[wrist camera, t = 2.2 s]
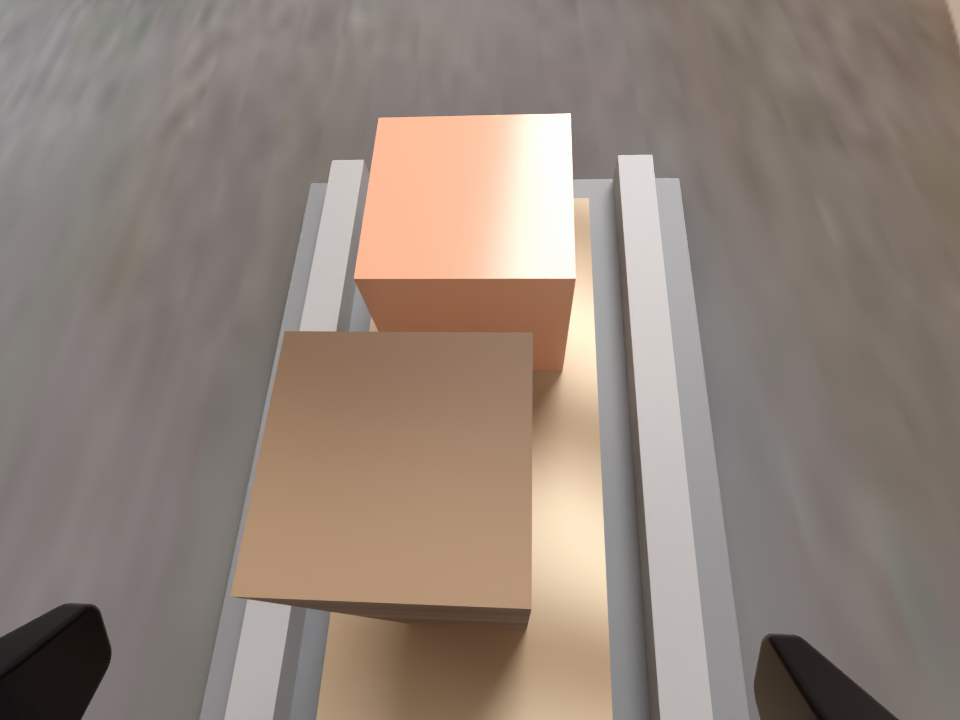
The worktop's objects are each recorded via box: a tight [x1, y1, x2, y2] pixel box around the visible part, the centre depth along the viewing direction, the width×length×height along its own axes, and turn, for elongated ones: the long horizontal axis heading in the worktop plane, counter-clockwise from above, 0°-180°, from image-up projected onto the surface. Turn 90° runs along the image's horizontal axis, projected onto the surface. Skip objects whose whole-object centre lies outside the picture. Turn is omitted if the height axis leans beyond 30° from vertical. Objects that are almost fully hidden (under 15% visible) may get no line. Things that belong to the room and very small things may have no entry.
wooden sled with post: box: [230, 198, 613, 720], centre depth 13 cm, size 16×7×11 cm, turn 178°
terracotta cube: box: [354, 113, 576, 371], centre depth 17 cm, size 5×5×5 cm
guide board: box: [199, 155, 749, 720], centre depth 16 cm, size 30×14×2 cm, turn 178°
